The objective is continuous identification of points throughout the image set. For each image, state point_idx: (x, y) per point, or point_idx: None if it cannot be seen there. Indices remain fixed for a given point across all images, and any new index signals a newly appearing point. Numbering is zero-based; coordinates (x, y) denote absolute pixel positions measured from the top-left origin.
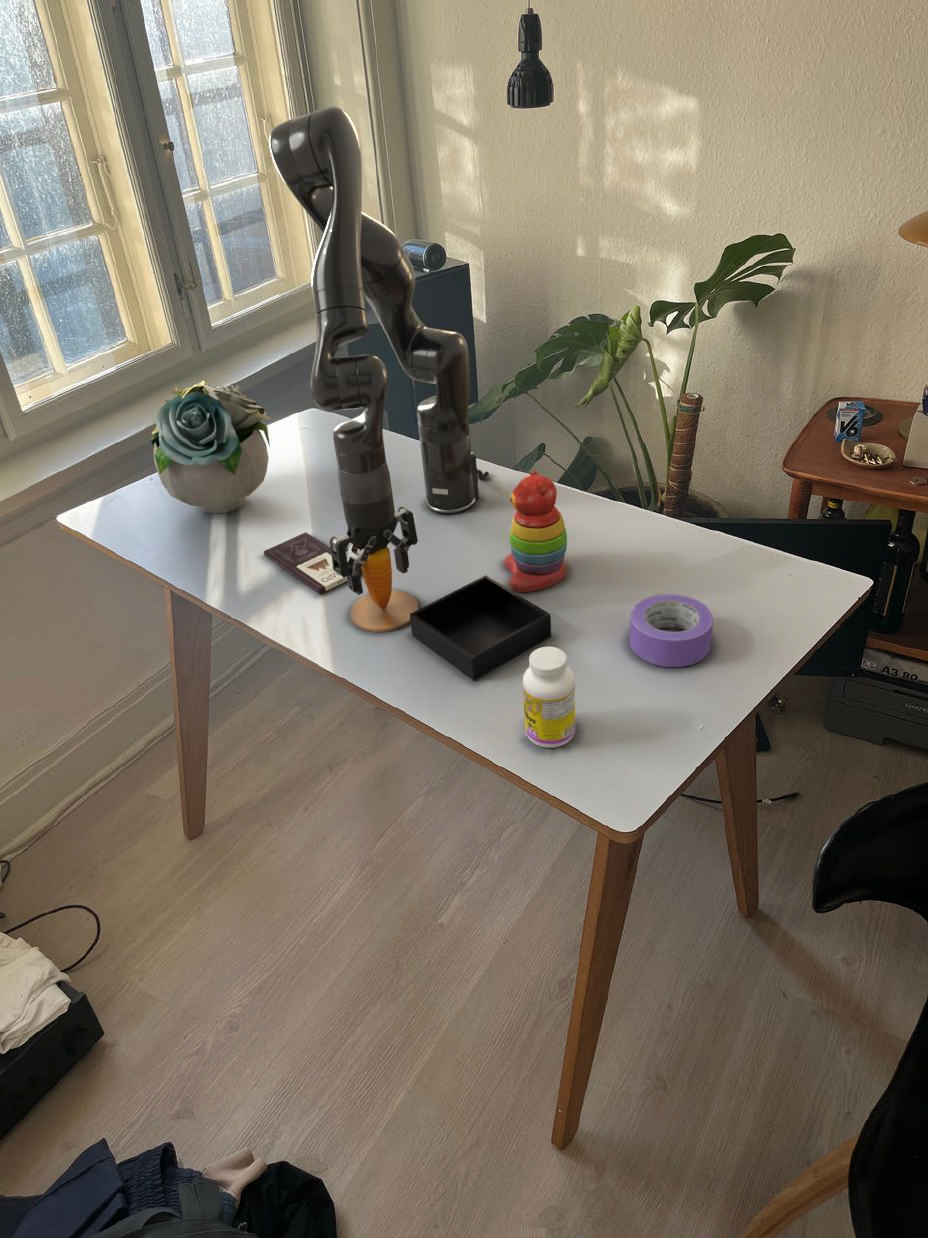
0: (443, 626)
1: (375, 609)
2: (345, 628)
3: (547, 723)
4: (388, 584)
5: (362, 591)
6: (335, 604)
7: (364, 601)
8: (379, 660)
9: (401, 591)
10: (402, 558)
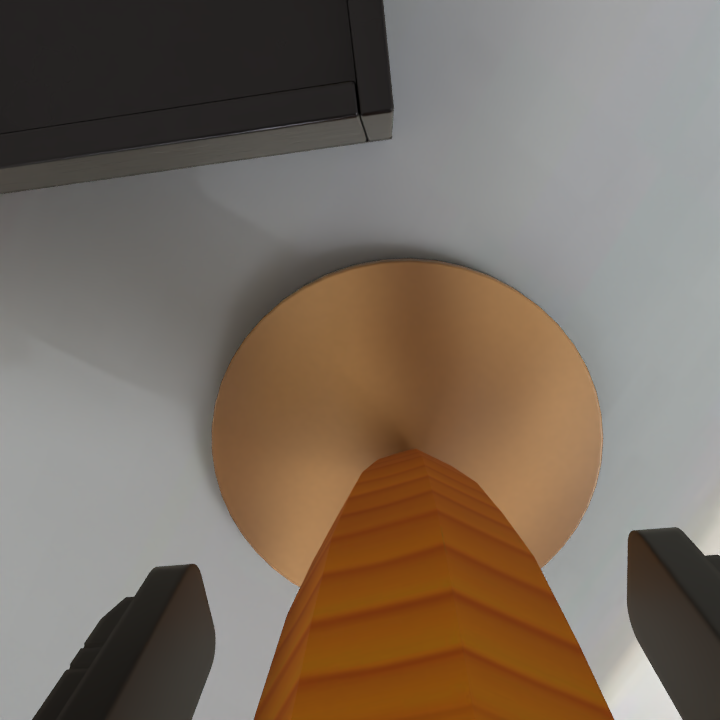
0: (186, 92)
1: None
2: (652, 448)
3: None
4: (383, 505)
5: (647, 538)
6: None
7: None
8: (696, 27)
9: (248, 535)
10: (116, 694)
